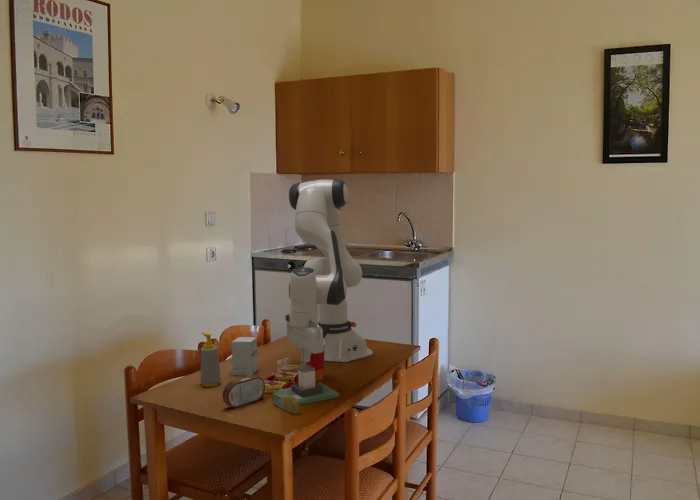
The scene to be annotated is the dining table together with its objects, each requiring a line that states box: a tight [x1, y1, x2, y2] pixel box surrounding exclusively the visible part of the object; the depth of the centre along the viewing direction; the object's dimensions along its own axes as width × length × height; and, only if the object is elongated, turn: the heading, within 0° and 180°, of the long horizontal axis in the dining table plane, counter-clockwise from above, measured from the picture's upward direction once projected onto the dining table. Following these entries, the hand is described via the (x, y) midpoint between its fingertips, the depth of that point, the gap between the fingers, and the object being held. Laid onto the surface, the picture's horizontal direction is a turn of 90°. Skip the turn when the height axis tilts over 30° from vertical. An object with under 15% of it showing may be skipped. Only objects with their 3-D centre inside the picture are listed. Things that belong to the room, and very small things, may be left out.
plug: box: [297, 365, 316, 390], centre depth 208 cm, size 4×4×8 cm
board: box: [275, 381, 340, 406], centre depth 208 cm, size 16×14×3 cm
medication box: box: [272, 391, 302, 415], centre depth 197 cm, size 12×3×4 cm, turn 39°
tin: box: [222, 374, 266, 408], centre depth 202 cm, size 15×3×8 cm, turn 136°
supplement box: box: [231, 336, 259, 377], centre depth 234 cm, size 7×7×13 cm
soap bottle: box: [200, 332, 222, 388], centre depth 221 cm, size 7×7×18 cm
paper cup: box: [305, 339, 325, 382], centre depth 225 cm, size 8×8×14 cm
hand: (305, 360), depth 207 cm, fingers closed
